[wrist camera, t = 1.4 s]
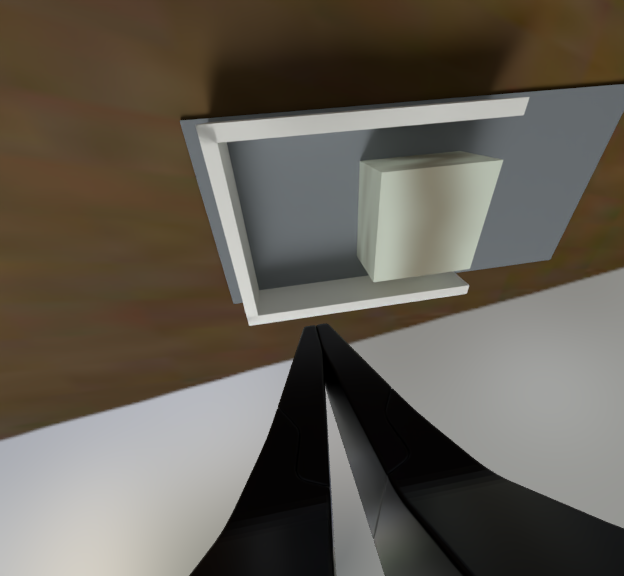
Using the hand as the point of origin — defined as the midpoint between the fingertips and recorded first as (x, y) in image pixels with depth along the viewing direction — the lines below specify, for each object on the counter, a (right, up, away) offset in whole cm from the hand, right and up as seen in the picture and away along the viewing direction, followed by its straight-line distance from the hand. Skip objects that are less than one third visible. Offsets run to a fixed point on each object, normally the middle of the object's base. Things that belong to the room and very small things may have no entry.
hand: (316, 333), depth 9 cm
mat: (+7, +8, +11) cm, 15 cm away
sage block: (+7, +8, +10) cm, 14 cm away
